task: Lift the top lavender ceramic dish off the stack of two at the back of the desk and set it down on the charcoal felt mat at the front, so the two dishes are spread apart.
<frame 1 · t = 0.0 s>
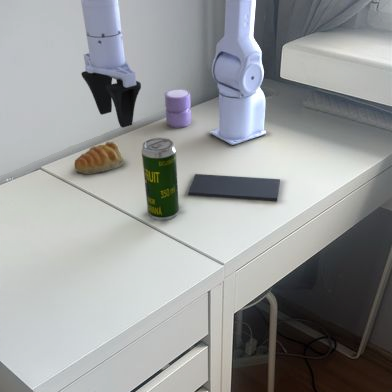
hand: (115, 119, 91), 10 cm above the table, tool pointing down, fingers open, 7 cm apart
felt mat: (234, 188, 93), on the table
top dish: (178, 108, 112), point 3 cm above the table, touching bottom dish
pastry: (101, 167, 100), on the table
green metal cylinder: (163, 214, 87), on the table
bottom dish: (178, 123, 114), on the table, touching top dish
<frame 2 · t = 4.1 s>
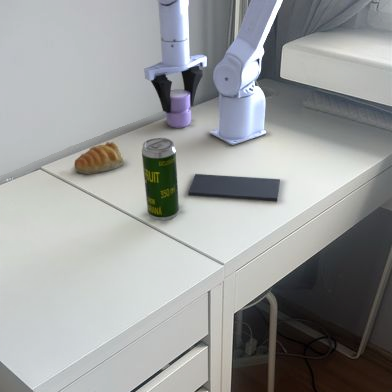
hand: (178, 108, 112), 3 cm above the table, tool pointing down, fingers closed on top dish, 5 cm apart
top dish: (178, 108, 112), point 3 cm above the table, touching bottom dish, gripper
everything else where it was.
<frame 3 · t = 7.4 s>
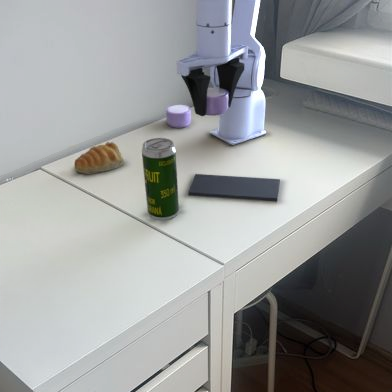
hand: (213, 110, 92), 10 cm above the table, tool pointing down, fingers closed on top dish, 5 cm apart
top dish: (212, 111, 92), point 10 cm above the table, touching gripper
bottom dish: (178, 123, 114), on the table
everything else where it was.
when the fingers open (1 cm above the table, at t = 11.1 s): top dish stays where it is, resting on felt mat.
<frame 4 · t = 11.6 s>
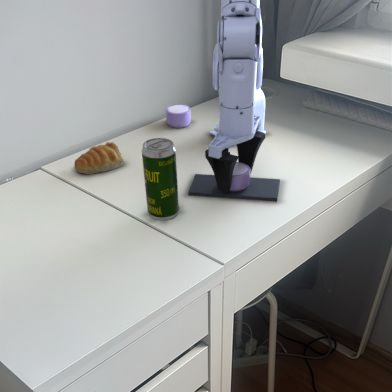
hand: (234, 181, 92), 1 cm above the table, tool pointing down, fingers open, 7 cm apart
top dish: (234, 185, 92), point 1 cm above the table, touching felt mat
everything else where it was.
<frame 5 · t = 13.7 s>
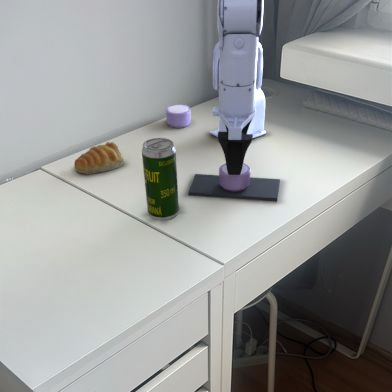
hand: (235, 163, 89), 5 cm above the table, tool pointing down, fingers open, 7 cm apart
nothing on the table moved.
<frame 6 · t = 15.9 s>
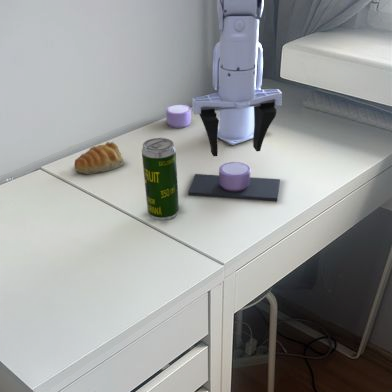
hand: (235, 151, 88), 7 cm above the table, tool pointing down, fingers open, 7 cm apart
nothing on the table moved.
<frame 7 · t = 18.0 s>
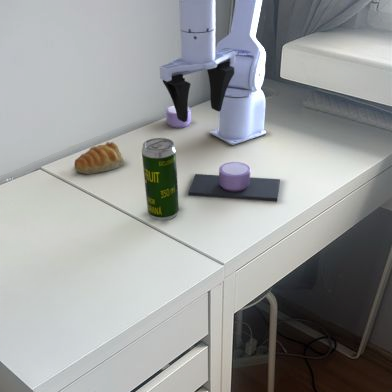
hand: (199, 114, 92), 10 cm above the table, tool pointing down, fingers open, 7 cm apart
nothing on the table moved.
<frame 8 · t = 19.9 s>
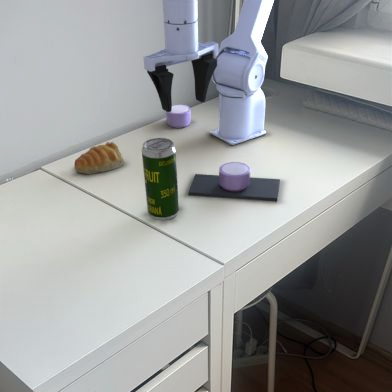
hand: (183, 105, 94), 10 cm above the table, tool pointing down, fingers open, 7 cm apart
nothing on the table moved.
at the end: top dish inside the target area on the felt mat (0.1 cm from its centre), point 0.6 cm above the felt mat's base; top dish tilted 0°; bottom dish moved 0.0 cm from its start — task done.
